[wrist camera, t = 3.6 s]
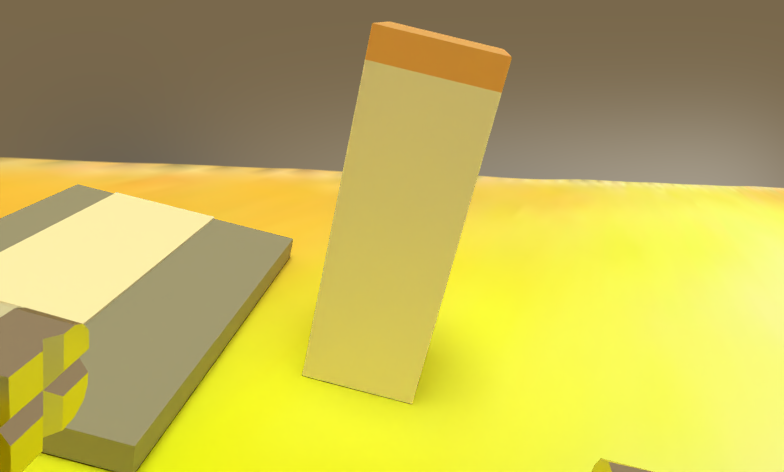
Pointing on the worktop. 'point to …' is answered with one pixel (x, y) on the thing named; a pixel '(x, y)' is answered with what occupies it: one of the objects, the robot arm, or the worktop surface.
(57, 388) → the robot arm
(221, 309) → the board
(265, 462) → the worktop surface
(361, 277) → the orange-capped beige pillar
